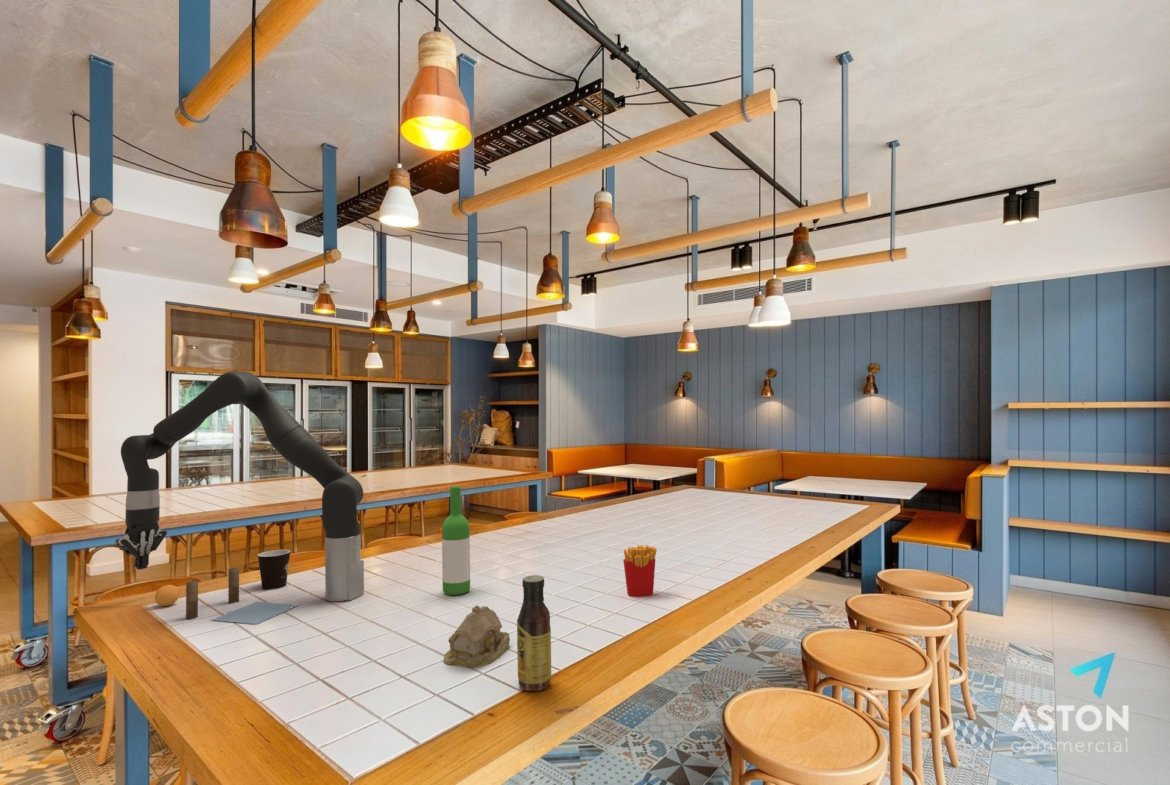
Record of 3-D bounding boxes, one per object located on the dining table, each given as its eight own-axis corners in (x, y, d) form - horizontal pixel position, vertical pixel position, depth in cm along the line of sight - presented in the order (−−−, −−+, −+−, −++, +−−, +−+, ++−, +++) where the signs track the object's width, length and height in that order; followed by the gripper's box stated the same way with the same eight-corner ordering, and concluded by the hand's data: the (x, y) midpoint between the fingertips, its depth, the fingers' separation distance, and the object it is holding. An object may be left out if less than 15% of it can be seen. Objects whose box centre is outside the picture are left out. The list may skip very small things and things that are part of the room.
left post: (200, 616, 145) (200, 581, 145) (191, 619, 143) (191, 583, 143) (192, 615, 146) (192, 580, 146) (183, 619, 143) (183, 583, 144)
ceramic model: (476, 673, 110) (475, 621, 110) (433, 662, 115) (433, 612, 116) (518, 646, 122) (517, 600, 123) (478, 637, 128) (477, 593, 128)
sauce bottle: (518, 678, 107) (516, 573, 108) (551, 676, 107) (549, 571, 108) (517, 695, 100) (515, 583, 101) (552, 693, 101) (550, 581, 102)
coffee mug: (276, 591, 165) (276, 557, 165) (250, 590, 167) (251, 556, 167) (303, 579, 176) (303, 547, 177) (279, 578, 178) (279, 547, 178)
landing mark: (298, 605, 152) (298, 604, 152) (256, 624, 138) (256, 623, 138) (256, 602, 155) (256, 601, 155) (211, 620, 142) (211, 619, 142)
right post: (241, 600, 157) (241, 568, 157) (233, 603, 155) (233, 570, 155) (233, 599, 158) (234, 567, 158) (226, 602, 155) (226, 570, 156)
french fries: (626, 597, 152) (625, 549, 153) (623, 593, 157) (621, 546, 157) (659, 595, 154) (658, 547, 155) (654, 590, 158) (653, 543, 159)
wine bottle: (446, 598, 155) (445, 489, 157) (439, 590, 162) (438, 486, 164) (473, 593, 159) (472, 487, 160) (466, 586, 166) (464, 484, 167)
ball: (184, 602, 156) (184, 582, 156) (165, 609, 151) (165, 588, 151) (169, 601, 158) (169, 581, 158) (149, 608, 152) (149, 587, 152)
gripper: (128, 510, 150) (127, 576, 149) (175, 503, 163) (174, 563, 162) (107, 509, 152) (106, 574, 151) (155, 502, 165) (154, 561, 164)
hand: (141, 568), depth 157 cm, fingers closed
